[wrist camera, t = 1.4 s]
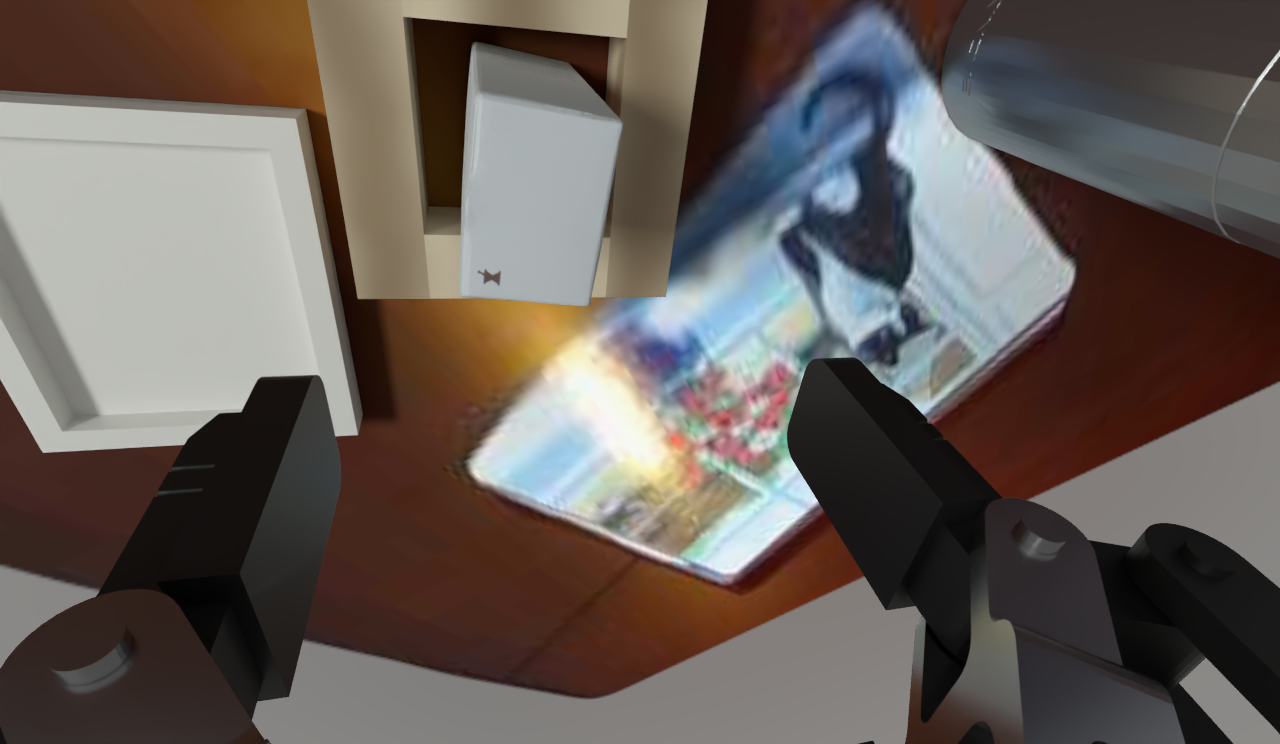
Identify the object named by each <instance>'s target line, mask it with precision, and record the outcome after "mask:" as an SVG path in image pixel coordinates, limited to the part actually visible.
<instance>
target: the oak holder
mask: <svg viewBox="0 0 1280 744" xmlns="http://www.w3.org/2000/svg"><path fill="white" fill-rule="evenodd" d="M307 2H308V8H309V14H310V20H311V26H312V32H313V38H314V43H315V49H316V55H317V61H318V67H319V73H320V79H321V85H322V91H323V96H324V102H325V108H326V114H327V120H328V126H329V132H330V138H331V144H332V150H333V155H334V161H335V167H336V173H337V179H338V185H339V191H340V197H341V203H342V208H343V214H344V220H345V226H346V232H347V238H348V244H349V250H350V256H351V262H352V267H353V273H354V279H355V285H356V291H357V297H358V299H431V298H469V297H462V296H461V295H460V292H459V263H460V241H461V210H462V209H461V207H431V206H429V201H428V190H427V178H426V167H425V156H424V145H423V134H422V122H421V111H420V100H419V89H418V77H417V66H416V55H415V44H414V33H413V21H412V18H422V19H432V20H443V21H453V22H463V23H474V24H484V25H495V26H505V27H515V28H526V29H536V30H546V31H557V32H567V33H578V34H588V35H598V36H609V37H610V39H609V54H608V69H607V84H606V98H605V103H606V104H607V105H608V106H609V107H610V108H611V110H612V111H613V112H614V113H615V114H616V115H617V116H618V117H619V118H620V119H621V120H622V121H623V123H624V126H623V131H622V135H621V140H620V146H619V151H618V157H617V162H616V168H615V173H614V178H613V183H612V189H611V194H610V199H609V205H608V211H607V217H606V223H605V229H604V235H603V241H602V247H601V252H600V257H599V262H598V267H597V272H596V276H595V281H594V286H593V291H592V296H591V297H666V290H667V283H668V276H669V269H670V262H671V255H672V248H673V241H674V234H675V227H676V220H677V213H678V206H679V199H680V192H681V185H682V178H683V171H684V164H685V156H686V149H687V142H688V135H689V128H690V121H691V114H692V107H693V100H694V93H695V86H696V79H697V72H698V65H699V58H700V51H701V44H702V37H703V30H704V23H705V16H706V9H707V2H708V0H307Z"/></svg>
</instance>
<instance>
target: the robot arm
mask: <svg viewBox="0 0 1280 744" xmlns="http://www.w3.org/2000/svg"><path fill="white" fill-rule="evenodd" d="M941 84H942V93H943V101H944V104H945V107H946V110H947V113H948V116H949V118H950V119H951V120H952V122H953V123H954V125H955V126H956V128H957V129H958V130H959V131H961V132H962V133H963V134H965V135H966V136H967V137H969V138H971V139H974V140H976V141H979V142H981V143H984V144H986V145H989V146H991V147H994V148H997V149H999V150H1002V151H1004V152H1007V153H1009V154H1012V155H1014V156H1017V157H1019V158H1022V159H1024V160H1026V161H1028V162H1031V163H1034V164H1036V165H1039V166H1041V167H1044V168H1046V169H1049V170H1052V171H1054V172H1057V173H1059V174H1062V175H1064V176H1067V177H1070V178H1072V179H1075V180H1077V181H1080V182H1082V183H1085V184H1088V185H1090V186H1093V187H1095V188H1098V189H1100V190H1103V191H1106V192H1108V193H1111V194H1113V195H1116V196H1118V197H1121V198H1124V199H1126V200H1129V201H1131V202H1134V203H1136V204H1139V205H1142V206H1144V207H1147V208H1149V209H1152V210H1154V211H1157V212H1160V213H1162V214H1165V215H1167V216H1170V217H1172V218H1175V219H1178V220H1180V221H1183V222H1185V223H1188V224H1190V225H1193V226H1195V227H1198V228H1201V229H1203V230H1206V231H1208V232H1211V233H1213V234H1216V235H1219V236H1221V237H1224V238H1226V239H1229V240H1231V241H1234V242H1237V243H1240V244H1243V245H1246V246H1248V247H1251V248H1253V249H1256V250H1259V251H1261V252H1264V253H1266V254H1269V255H1271V256H1274V257H1277V258H1279V259H1280V0H968V1H967V3H966V4H965V6H964V8H963V9H962V11H961V13H960V14H959V16H958V18H957V21H956V23H955V26H954V28H953V30H952V33H951V35H950V37H949V40H948V44H947V48H946V52H945V56H944V60H943V69H942V80H941ZM787 442H788V448H789V452H790V455H791V458H792V460H793V461H794V463H795V465H796V466H797V468H798V469H799V471H800V473H801V474H802V476H803V478H804V479H805V481H806V482H807V484H808V486H809V487H810V489H811V490H812V492H813V494H814V495H815V497H816V498H817V500H818V502H819V503H820V505H821V507H822V508H823V510H824V511H825V513H826V515H827V516H828V518H829V519H830V521H831V523H832V524H833V526H834V527H835V529H836V531H837V532H838V534H839V536H840V537H841V539H842V540H843V542H844V544H845V545H846V547H847V548H848V550H849V552H850V553H851V555H852V556H853V558H854V560H855V561H856V563H857V565H858V566H859V568H860V569H861V571H862V573H863V574H864V576H865V577H866V579H867V581H868V582H869V584H870V585H871V587H872V589H873V590H874V592H875V594H876V595H877V596H878V598H879V600H880V602H881V603H882V605H883V606H884V608H885V609H886V610H891V609H897V608H905V607H911V606H916V607H917V608H918V610H919V612H920V613H921V615H922V617H921V619H920V620H919V622H918V624H917V626H916V629H915V636H914V651H913V663H912V676H911V689H910V703H909V716H908V729H907V737H906V742H905V744H1233V743H1232V742H1231V741H1230V739H1228V737H1227V736H1226V735H1225V734H1224V733H1223V732H1222V731H1221V729H1220V728H1219V727H1218V726H1217V725H1216V724H1215V723H1214V722H1213V721H1212V719H1211V718H1210V717H1209V716H1208V715H1207V714H1206V713H1205V712H1204V711H1203V709H1202V708H1201V707H1200V706H1199V705H1198V704H1197V703H1196V702H1195V701H1194V699H1193V698H1192V697H1191V696H1190V695H1189V694H1188V693H1187V692H1186V691H1185V690H1184V688H1183V687H1182V686H1181V685H1180V684H1179V682H1180V681H1181V680H1182V679H1183V678H1185V677H1186V676H1187V675H1188V674H1189V673H1190V672H1191V671H1192V670H1193V669H1194V668H1196V667H1197V666H1198V665H1199V664H1200V663H1201V662H1202V661H1203V660H1204V659H1205V658H1207V659H1208V660H1209V661H1210V662H1211V663H1212V664H1213V665H1214V666H1215V667H1216V668H1217V669H1218V670H1219V671H1220V672H1221V673H1222V674H1223V675H1224V676H1225V677H1226V679H1227V680H1228V681H1230V683H1231V684H1232V685H1233V686H1234V687H1235V688H1236V689H1237V690H1238V691H1239V692H1240V693H1241V694H1242V695H1243V696H1244V697H1245V698H1246V699H1247V700H1248V701H1249V702H1250V703H1251V704H1252V705H1253V706H1254V707H1255V708H1256V709H1257V710H1258V711H1259V712H1260V713H1261V715H1263V717H1264V718H1265V719H1266V720H1267V721H1268V722H1269V723H1270V724H1271V725H1272V726H1273V727H1274V728H1275V729H1276V730H1277V731H1278V732H1279V734H1280V588H1279V587H1277V586H1276V585H1275V584H1274V583H1273V582H1272V581H1270V580H1269V579H1268V578H1267V577H1265V576H1264V575H1263V574H1262V573H1261V572H1260V571H1259V570H1257V569H1256V568H1255V567H1254V566H1252V565H1251V564H1250V563H1249V562H1248V561H1247V560H1245V559H1244V558H1243V557H1241V556H1240V555H1239V554H1238V553H1236V552H1235V551H1234V550H1232V549H1231V548H1229V547H1227V546H1226V545H1224V544H1223V543H1221V542H1219V541H1217V540H1216V539H1214V538H1212V537H1210V536H1208V535H1206V534H1203V533H1201V532H1198V531H1196V530H1193V529H1190V528H1188V527H1184V526H1180V525H1176V524H1169V523H1159V524H1154V525H1151V526H1149V527H1148V528H1147V529H1146V531H1145V532H1144V533H1143V534H1142V535H1141V536H1140V538H1139V539H1138V540H1137V541H1136V543H1135V544H1134V545H1133V546H1132V547H1126V546H1120V545H1114V544H1108V543H1102V542H1096V541H1090V540H1088V539H1087V538H1086V537H1085V536H1084V534H1083V533H1082V532H1081V531H1080V530H1079V529H1078V528H1077V527H1076V526H1074V525H1073V524H1072V523H1071V522H1069V521H1068V520H1067V519H1065V518H1064V517H1062V516H1061V515H1059V514H1058V513H1056V512H1054V511H1052V510H1050V509H1048V508H1046V507H1044V506H1042V505H1039V504H1037V503H1034V502H1031V501H1027V500H1023V499H1018V498H1002V497H1001V496H1000V495H999V494H998V493H997V492H996V491H995V489H994V488H993V487H992V486H991V485H990V484H989V483H988V482H987V481H986V480H985V479H984V478H983V477H982V476H981V475H980V474H979V473H978V472H977V471H976V470H975V469H974V468H973V467H972V465H971V464H970V463H969V462H968V461H967V460H966V459H965V458H964V457H963V456H962V455H961V454H960V453H959V452H958V451H957V450H956V449H955V448H954V447H953V446H952V445H951V444H950V443H949V441H948V440H943V435H942V434H941V433H940V432H939V431H938V430H937V429H936V428H935V427H934V426H933V425H932V424H928V423H927V419H926V417H925V416H924V415H923V414H922V413H921V412H920V411H919V410H918V409H917V408H916V407H915V406H914V405H913V404H912V403H911V402H910V401H909V400H908V399H906V398H905V397H903V396H902V395H900V394H898V393H897V392H895V391H894V390H892V389H891V388H889V387H887V386H886V385H884V384H883V383H882V384H881V383H880V382H879V381H878V380H877V378H876V377H875V376H874V375H873V374H872V373H871V372H870V371H869V370H868V369H867V368H866V367H865V366H864V364H863V363H862V362H861V361H859V360H858V359H856V358H853V357H852V358H824V359H814V360H812V361H811V362H810V363H809V364H808V366H807V367H806V370H805V373H804V376H803V379H802V383H801V386H800V389H799V392H798V396H797V399H796V402H795V405H794V409H793V412H792V415H791V418H790V422H789V425H788V431H787ZM340 479H341V467H340V456H339V450H338V446H337V441H336V437H335V432H334V428H333V423H332V419H331V414H330V410H329V405H328V401H327V396H326V392H325V388H324V384H323V381H322V379H321V378H320V376H318V375H299V376H270V377H260V378H259V379H258V380H257V382H256V384H255V386H254V388H253V390H252V392H251V394H250V396H249V398H248V400H247V402H246V404H245V406H244V408H243V410H242V412H235V413H219V414H218V415H216V416H215V417H214V418H213V419H211V420H210V421H209V422H208V423H206V424H205V425H204V426H203V427H201V428H200V429H199V430H198V431H197V432H195V433H194V434H193V435H192V436H190V437H189V438H188V439H187V441H186V443H185V445H184V446H183V448H182V450H181V452H180V453H179V455H178V457H177V458H176V460H175V462H174V464H173V465H172V472H168V474H167V476H166V477H165V479H164V481H163V483H162V484H161V486H160V488H159V490H158V497H154V498H153V500H152V502H151V503H150V505H149V507H148V509H147V510H146V512H145V514H144V515H143V517H142V519H141V521H140V522H139V524H138V526H137V528H136V529H135V531H134V533H133V534H132V536H131V538H130V540H129V541H128V543H127V545H126V547H125V548H124V550H123V552H122V553H121V555H120V557H119V559H118V560H117V562H116V564H115V566H114V567H113V569H112V571H111V572H110V574H109V576H108V578H107V579H106V581H105V583H104V585H103V586H102V588H101V590H100V591H99V593H98V595H97V596H96V597H94V598H91V599H88V600H86V601H84V602H81V603H79V604H77V605H74V606H72V607H70V608H69V609H67V610H65V611H63V612H61V613H60V614H57V615H56V616H54V617H53V618H51V619H50V620H48V621H47V622H45V623H44V624H42V625H41V626H40V627H38V628H37V629H36V630H35V631H33V632H32V633H31V634H30V635H28V636H27V637H26V638H25V639H24V640H23V641H22V642H21V643H20V644H19V645H18V646H17V647H16V648H15V649H14V651H13V652H12V653H11V654H10V656H9V657H8V658H7V659H6V661H5V662H4V664H3V666H2V667H1V668H0V744H271V743H270V742H269V741H268V740H267V739H266V740H264V738H263V737H262V736H261V734H260V733H259V731H258V730H257V728H256V727H255V725H254V724H253V722H252V717H253V714H254V710H255V706H256V703H257V701H263V700H270V699H277V698H283V697H289V694H290V690H291V686H292V682H293V678H294V673H295V670H296V666H297V662H298V657H299V654H300V649H301V645H302V641H303V637H304V633H305V629H306V625H307V621H308V617H309V613H310V609H311V605H312V601H313V597H314V593H315V589H316V584H317V580H318V576H319V572H320V568H321V564H322V560H323V556H324V552H325V548H326V544H327V540H328V536H329V532H330V527H331V523H332V519H333V515H334V511H335V507H336V503H337V499H338V495H339V489H340ZM860 744H874V742H873V741H869V742H864V743H860Z"/></svg>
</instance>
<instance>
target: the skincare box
mask: <svg viewBox="0 0 1280 744" xmlns="http://www.w3.org/2000/svg"><path fill="white" fill-rule="evenodd" d="M623 126H624V123H623V121H622V120H621V119H620V118H619V117H618V116H617V115H616V114H615V113H614V112H613V111H612V110H611V108H610V107H609V106H608V105H607V104H606V103H605V102H604V101H603V100H602V99H601V98H600V96H599V95H598V94H597V93H596V92H595V91H594V90H593V89H592V88H591V87H590V86H589V85H588V83H587V82H586V81H585V80H584V79H583V78H582V77H581V76H580V75H579V74H578V73H577V71H576V70H575V69H574V68H573V67H572V66H571V65H570V64H569V63H568V62H564V61H559V60H555V59H550V58H546V57H542V56H538V55H533V54H529V53H525V52H521V51H517V50H512V49H508V48H504V47H500V46H495V45H491V44H486V43H482V42H473V43H472V48H471V57H470V67H469V78H468V89H467V104H466V121H465V138H464V157H463V177H462V205H461V209H462V210H461V241H460V263H459V292H460V295H461V296H462V297H469V298H484V299H499V300H513V301H527V302H537V303H548V304H559V305H573V306H588V305H589V304H590V301H591V296H592V291H593V286H594V281H595V276H596V272H597V267H598V262H599V257H600V252H601V247H602V241H603V235H604V229H605V223H606V217H607V211H608V205H609V199H610V194H611V189H612V183H613V178H614V173H615V168H616V162H617V157H618V151H619V146H620V140H621V135H622V131H623Z"/></svg>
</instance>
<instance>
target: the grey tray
mask: <svg viewBox="0 0 1280 744" xmlns="http://www.w3.org/2000/svg"><path fill="white" fill-rule="evenodd" d="M299 375H318V376H320V378H321V379H322V381H323V384H324V388H325V392H326V396H327V401H328V405H329V410H330V414H331V419H332V423H333V428H334V432H335V436H347V435H358V433H359V428H360V424H361V420H362V416H363V412H362V407H361V401H360V396H359V391H358V385H357V380H356V374H355V369H354V364H353V358H352V353H351V348H350V342H349V337H348V332H347V326H346V321H345V315H344V310H343V305H342V299H341V294H340V289H339V283H338V278H337V272H336V267H335V262H334V256H333V251H332V246H331V240H330V235H329V230H328V224H327V219H326V213H325V208H324V203H323V197H322V192H321V187H320V181H319V176H318V170H317V165H316V160H315V154H314V149H313V144H312V138H311V133H310V128H309V122H308V117H307V111H306V109H301V108H284V107H267V106H251V105H234V104H218V103H201V102H185V101H168V100H152V99H135V98H118V97H102V96H85V95H69V94H52V93H36V92H19V91H2V90H0V380H1V381H2V383H3V385H4V386H5V388H6V390H7V392H8V393H9V395H10V397H11V398H12V400H13V402H14V404H15V405H16V407H17V409H18V411H19V412H20V414H21V416H22V417H23V419H24V421H25V423H26V424H27V426H28V428H29V430H30V431H31V433H32V435H33V436H34V438H35V440H36V442H37V443H38V445H39V447H40V449H41V450H42V452H43V453H46V452H64V451H81V450H99V449H117V448H134V447H152V446H170V445H185V443H186V441H187V439H188V438H189V437H190V436H192V435H193V434H194V433H195V432H197V431H198V430H199V429H200V428H201V427H203V426H204V425H205V424H206V423H208V422H209V421H210V420H211V419H213V418H214V417H215V416H216V415H218V414H219V413H235V412H242V410H243V408H244V406H245V404H246V402H247V400H248V398H249V396H250V394H251V392H252V390H253V388H254V386H255V384H256V382H257V380H258V379H259V378H260V377H270V376H299Z"/></svg>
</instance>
